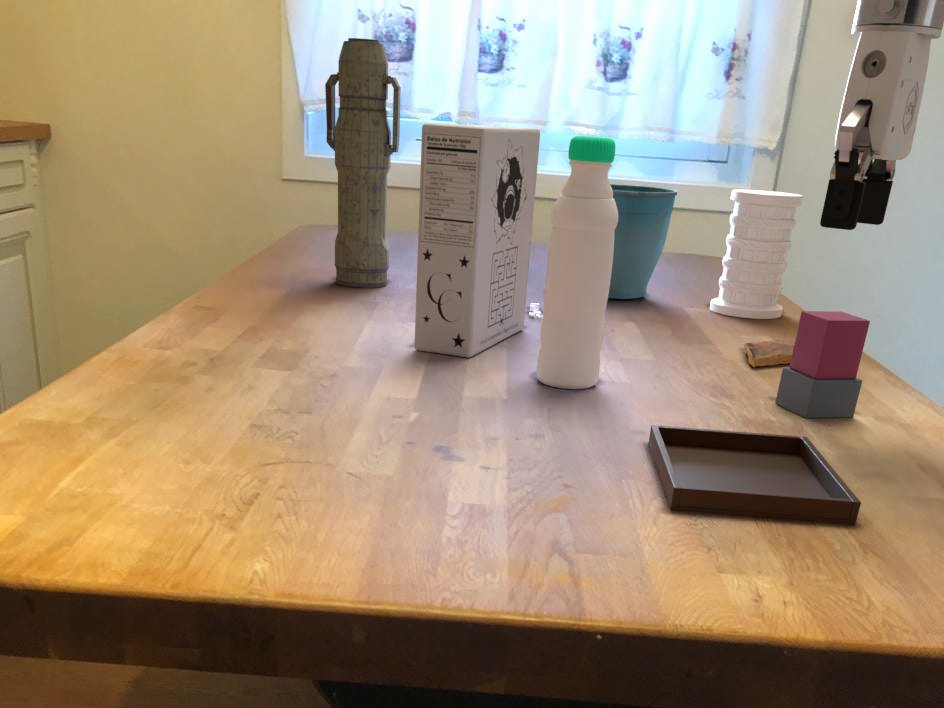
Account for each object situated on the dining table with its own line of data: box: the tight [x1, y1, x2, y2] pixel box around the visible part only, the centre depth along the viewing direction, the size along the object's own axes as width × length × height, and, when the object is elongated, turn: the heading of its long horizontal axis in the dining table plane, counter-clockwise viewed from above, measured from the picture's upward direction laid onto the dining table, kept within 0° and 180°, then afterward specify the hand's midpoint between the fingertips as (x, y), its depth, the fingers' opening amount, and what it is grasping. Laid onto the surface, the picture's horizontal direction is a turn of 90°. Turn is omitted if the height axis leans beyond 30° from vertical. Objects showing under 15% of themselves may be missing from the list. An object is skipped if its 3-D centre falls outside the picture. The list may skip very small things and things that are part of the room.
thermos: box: [324, 37, 402, 289], centre depth 156 cm, size 9×12×35 cm
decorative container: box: [709, 188, 804, 320], centre depth 158 cm, size 12×12×18 cm
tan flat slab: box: [743, 339, 794, 368], centre depth 129 cm, size 11×8×2 cm
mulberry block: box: [788, 310, 871, 379], centre depth 104 cm, size 5×5×6 cm
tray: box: [647, 424, 862, 526], centre depth 83 cm, size 14×17×2 cm
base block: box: [775, 366, 863, 419], centre depth 107 cm, size 6×6×4 cm
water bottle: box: [536, 135, 618, 390], centre depth 106 cm, size 7×7×25 cm
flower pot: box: [608, 183, 678, 300], centre depth 166 cm, size 18×18×17 cm
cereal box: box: [414, 123, 541, 359], centre depth 124 cm, size 22×8×25 cm, turn 159°
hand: (851, 225), depth 95 cm, fingers open, 9 cm apart
